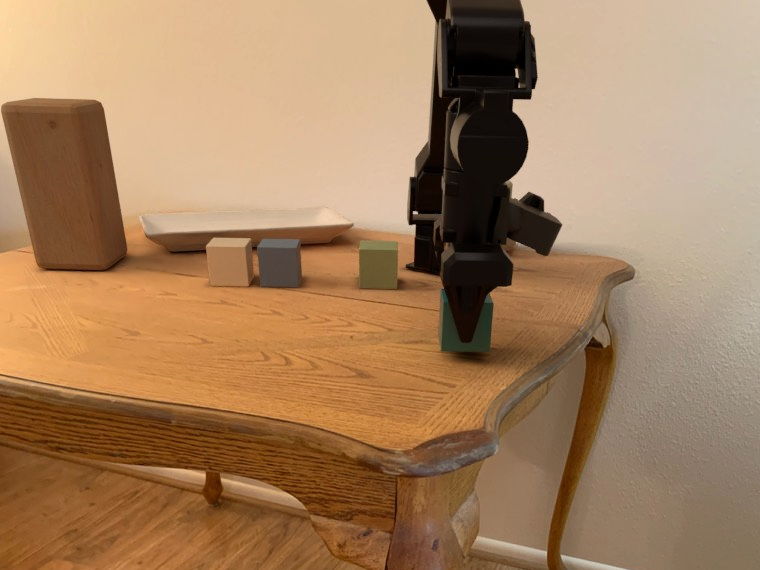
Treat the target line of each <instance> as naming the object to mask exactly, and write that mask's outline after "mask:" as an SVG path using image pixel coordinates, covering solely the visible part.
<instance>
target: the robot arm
mask: <svg viewBox="0 0 760 570" xmlns="http://www.w3.org/2000/svg"><path fill="white" fill-rule="evenodd" d="M426 3H427V5H428V7H429V10H430V12H431V14H432V16H433V18H434V20H435V21H434V22H435V23H434V39H433V53H432V70H431V71H432V72H431V86H430V101H429V102H430V103H429V117H428V135H427V141H426V143H425V144H424V146H423V147H422V148H421V150H420V151H419V153H418V154H417V156H416V157H415V159H414V174H413V176H409V178H408V191H407V203H406V204H407V205H406V220H407V225H408V226H415V231H414V235H415V236H414V241H413V242H414V243H413V244H414V245H413V261H412V262H409V263H406V264H405V269H409V270H413V271H419V272H423V273H428V274H433V275H439V276H440V282H441V284H442V289H444V291H445V294H446V297H447V300H448V303H449V307H450V310H451V313H452V316H453V319H454V322H455V325H456V329H457V332H458V335H459V338H460V341H461V342H462V343H470V342H472V339H473V336H474V333H475V330H476V327H477V323H478V320H479V317H480V314H481V311H482V308H483V305H484V302H485V299H486V297H487V295H488V294H489V293H490V294H491V293H492V292H493V291H494V290H495V289H497V288H499V287H500V288H507V287H511V286H512V284H513V273H514V262H513V260H512V258H511V257H510V255H509V253H508V252H506V251H505V250H504V249H503V248H502V247H501V246H500V245H506V242H507V238H509V239H511V240H513V241H515V242H516V244H519V245H523V246H525V247H526V248H529V249H532V250H534V251H535V254H538V255H540V256H543V257H548V256H549V255H550V252H551V250H552V248H553V247H554V244H555V242H556V239H557V238H558V237H559V233H560V231H561V229H562V227H563V223H562V222H561V221H560V220H559V219H558V218H557V217H556V216H554V215H552V214H551V213H550V212H546V211H545V198H543V197H542V196H540V195H538V194H535V193H534V192H531V191H528V192H526V193H525V194H524V195H523V196H522V197H521V198H519V199H517V198H515V197H514V198H513V197H512V198H511V197H510V188H509V187H507V186H508V185H507V184H506V183H505V182H506V181H511V180H512V178H514V176H516V175H517V174H518V173H519V172H520V170H521V169H522V167H523V166H524V163H525V161H526V160H527V156H528V152H529V143H530V141H529V137H528V131H527V128H526V126H525V123H524V122H523V120H522V119H521V117H520V116H519V115H518V114H517V113H516V112H514V100H519V101H520V100H522V101H523V100H527V101H530V100H532V97H533V90H536V86H537V82H538V64H537V63H538V62H537V53H536V51H537V49H536V39H535V36H534V35H533V34H532V24H531V22H530V21H529V20H525V11H524V8H523V4H522V1H521V0H426ZM516 70H517V72H516ZM517 76H518V77H517ZM414 212H416V213H414ZM493 244H494V245H493Z"/></svg>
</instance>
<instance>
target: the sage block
mask: <svg viewBox="0 0 760 570" xmlns="http://www.w3.org/2000/svg"><path fill="white" fill-rule="evenodd" d="M398 244H399V243H398V241H397V240H359V247H358V288H359V289H360V290H361V289H363V290H364V289H365V290H368V289H369V290H398V272H399V271H398V270H399V269H398V268H399V265H398V264H399V245H398Z"/></svg>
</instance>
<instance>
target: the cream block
mask: <svg viewBox="0 0 760 570" xmlns="http://www.w3.org/2000/svg"><path fill="white" fill-rule="evenodd" d="M205 251H206V258H207V259H206V261H207V268H208V269H207V270H208V275H209V276H208V277H209V286H211V287H249V286H251V283H252V281H253V280H254V278H255V270H254V257H253V247H252V243H251V238H213V239H212V240H211V241H210V242H209V243H208V244H207V246H206V250H205Z"/></svg>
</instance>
